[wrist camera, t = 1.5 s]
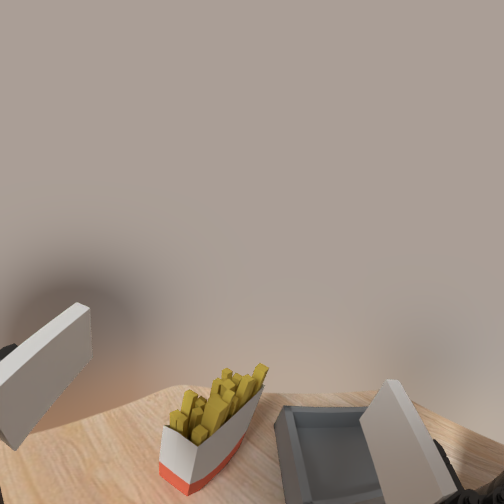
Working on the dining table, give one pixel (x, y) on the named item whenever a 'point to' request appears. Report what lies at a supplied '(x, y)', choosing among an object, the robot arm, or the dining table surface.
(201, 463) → the french fries container
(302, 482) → the tray
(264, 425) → the dining table surface
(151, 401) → the dining table surface
